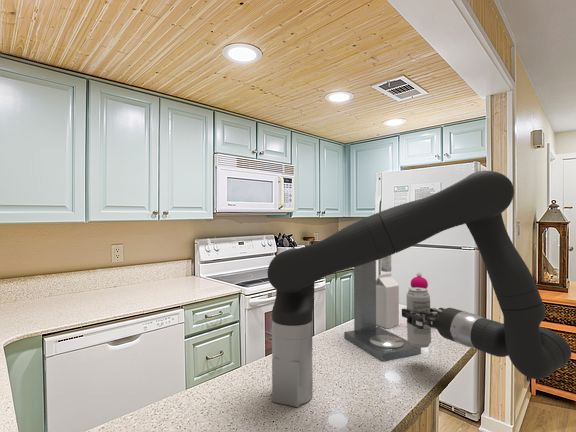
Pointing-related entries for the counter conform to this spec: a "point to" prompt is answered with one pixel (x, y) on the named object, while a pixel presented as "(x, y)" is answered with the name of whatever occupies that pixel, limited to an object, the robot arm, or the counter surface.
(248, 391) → the counter surface
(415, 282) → the pepper mill
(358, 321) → the arbor press
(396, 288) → the milk carton
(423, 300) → the energy drink can
